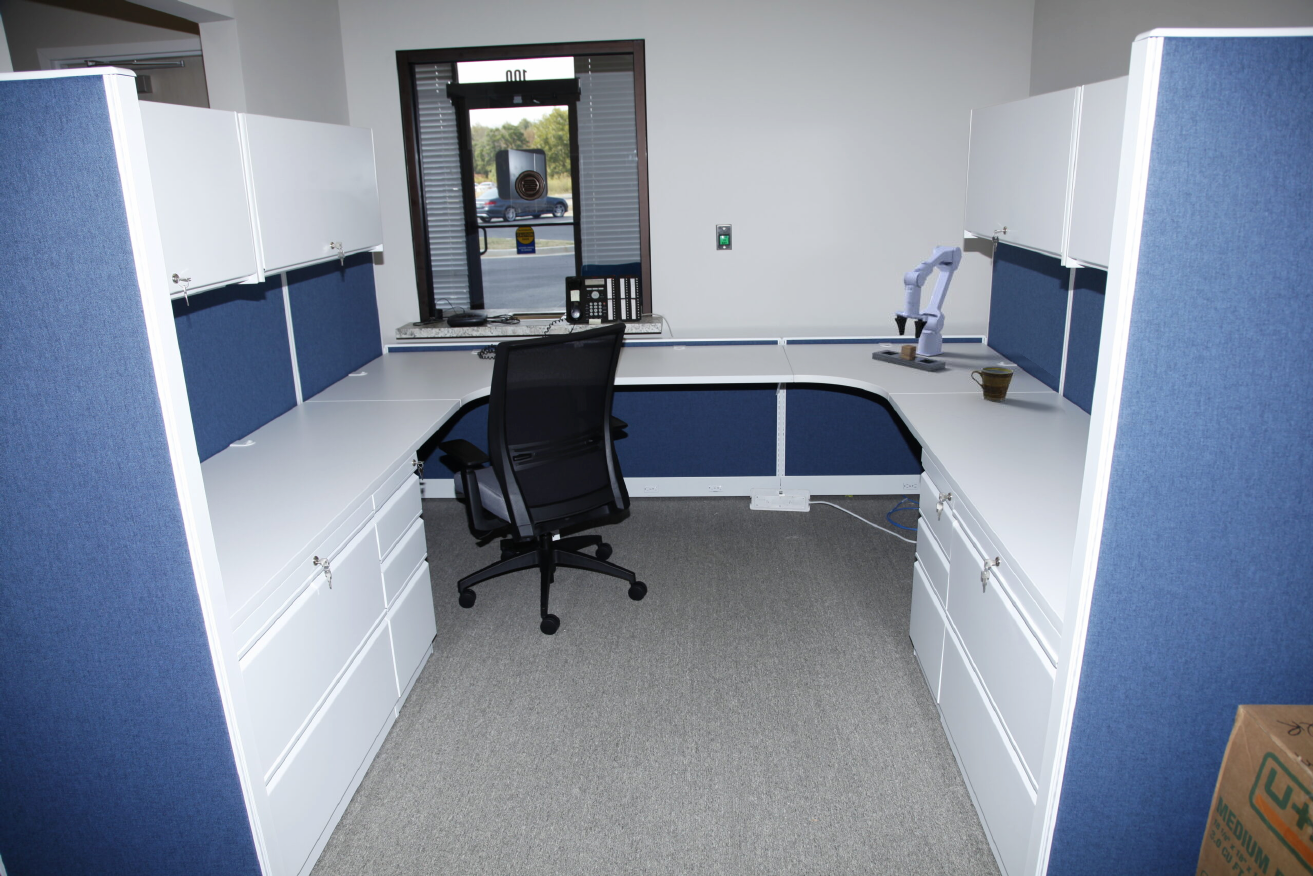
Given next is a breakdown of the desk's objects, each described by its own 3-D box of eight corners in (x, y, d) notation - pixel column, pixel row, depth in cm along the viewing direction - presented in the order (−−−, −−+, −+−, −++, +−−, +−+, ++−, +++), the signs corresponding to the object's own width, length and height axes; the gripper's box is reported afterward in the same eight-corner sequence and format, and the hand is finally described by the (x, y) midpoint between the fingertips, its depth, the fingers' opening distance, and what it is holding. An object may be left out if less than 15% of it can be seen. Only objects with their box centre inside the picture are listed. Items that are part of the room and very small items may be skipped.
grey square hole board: (886, 355, 346) (887, 349, 345) (945, 368, 324) (945, 362, 323) (872, 358, 341) (872, 352, 340) (930, 371, 319) (931, 365, 318)
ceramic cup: (1007, 395, 287) (1010, 367, 284) (1012, 403, 278) (1015, 374, 274) (966, 393, 290) (970, 365, 286) (970, 401, 280) (973, 372, 277)
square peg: (906, 361, 335) (908, 344, 333) (914, 363, 332) (916, 346, 330) (900, 363, 333) (901, 345, 331) (908, 365, 330) (910, 347, 328)
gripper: (890, 301, 334) (888, 335, 339) (921, 305, 323) (918, 340, 327) (902, 299, 338) (899, 332, 343) (932, 303, 327) (929, 338, 331)
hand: (909, 336), depth 335 cm, fingers open, 7 cm apart
